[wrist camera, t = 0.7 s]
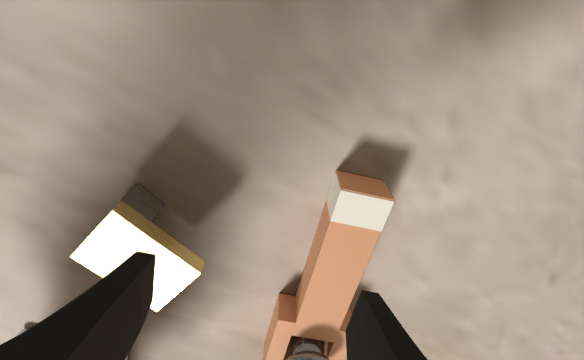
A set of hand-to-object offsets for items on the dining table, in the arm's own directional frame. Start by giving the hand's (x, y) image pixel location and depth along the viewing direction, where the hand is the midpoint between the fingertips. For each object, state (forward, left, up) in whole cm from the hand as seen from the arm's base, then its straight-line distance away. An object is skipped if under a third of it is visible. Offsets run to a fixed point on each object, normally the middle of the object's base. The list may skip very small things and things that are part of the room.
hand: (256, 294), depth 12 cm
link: (-7, -5, -10) cm, 13 cm away
